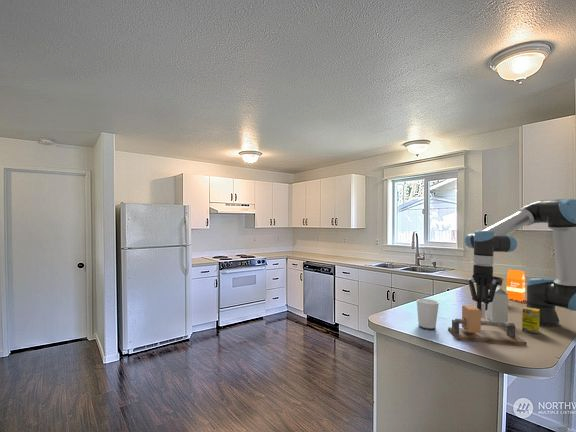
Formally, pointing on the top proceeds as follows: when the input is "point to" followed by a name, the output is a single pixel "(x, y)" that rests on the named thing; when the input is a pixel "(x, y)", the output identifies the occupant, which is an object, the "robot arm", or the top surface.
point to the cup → (427, 313)
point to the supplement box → (530, 320)
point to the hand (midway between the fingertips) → (481, 317)
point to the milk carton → (498, 306)
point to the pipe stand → (487, 333)
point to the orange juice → (516, 285)
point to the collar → (471, 318)
